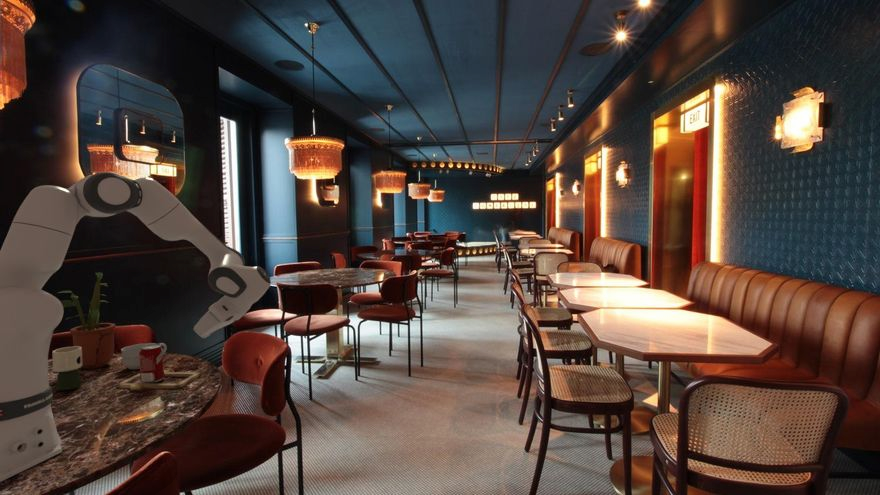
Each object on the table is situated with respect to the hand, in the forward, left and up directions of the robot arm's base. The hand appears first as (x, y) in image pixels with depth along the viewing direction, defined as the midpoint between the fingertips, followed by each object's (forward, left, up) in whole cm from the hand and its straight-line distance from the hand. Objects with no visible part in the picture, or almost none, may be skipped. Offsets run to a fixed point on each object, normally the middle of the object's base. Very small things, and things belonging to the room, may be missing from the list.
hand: (203, 336), depth 143 cm
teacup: (+15, +32, -16) cm, 38 cm away
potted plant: (+12, +51, -16) cm, 54 cm away
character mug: (-7, +41, -16) cm, 44 cm away
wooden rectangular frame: (0, +16, -16) cm, 22 cm away
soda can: (0, +18, -16) cm, 24 cm away
